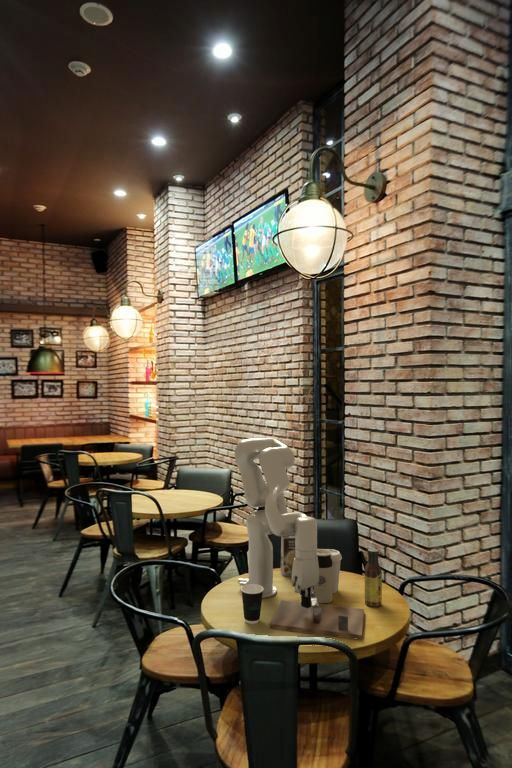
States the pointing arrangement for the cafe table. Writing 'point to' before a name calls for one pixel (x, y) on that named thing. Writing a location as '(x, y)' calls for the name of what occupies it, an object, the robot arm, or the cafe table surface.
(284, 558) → the coffee box
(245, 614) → the dixie cup
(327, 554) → the travel mug
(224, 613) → the cafe table surface
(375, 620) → the cafe table surface
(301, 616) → the jamb plate
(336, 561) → the coffee cup
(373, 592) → the sauce bottle
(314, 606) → the bar
